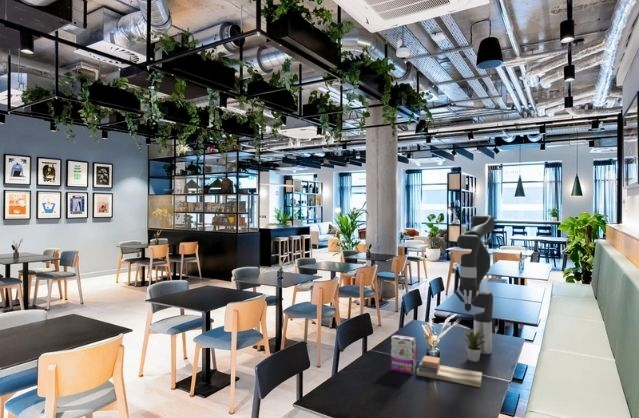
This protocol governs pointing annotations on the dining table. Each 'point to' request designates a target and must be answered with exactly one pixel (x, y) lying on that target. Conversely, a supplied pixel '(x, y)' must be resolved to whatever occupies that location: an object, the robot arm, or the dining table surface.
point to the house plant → (474, 345)
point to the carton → (432, 362)
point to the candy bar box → (403, 354)
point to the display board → (450, 374)
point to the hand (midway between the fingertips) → (467, 310)
